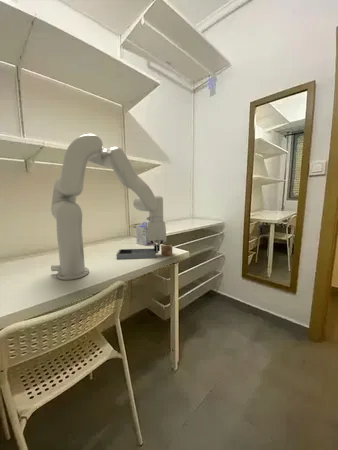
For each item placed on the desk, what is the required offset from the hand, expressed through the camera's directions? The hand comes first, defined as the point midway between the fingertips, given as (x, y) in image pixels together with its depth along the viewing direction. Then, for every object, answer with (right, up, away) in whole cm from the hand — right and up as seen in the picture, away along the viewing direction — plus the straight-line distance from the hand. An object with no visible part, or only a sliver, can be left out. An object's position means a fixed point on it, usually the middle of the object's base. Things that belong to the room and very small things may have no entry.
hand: (157, 252), depth 116 cm
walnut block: (+5, -2, 0) cm, 6 cm away
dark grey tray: (-11, -2, 0) cm, 11 cm away
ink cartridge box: (-10, +2, +25) cm, 27 cm away
